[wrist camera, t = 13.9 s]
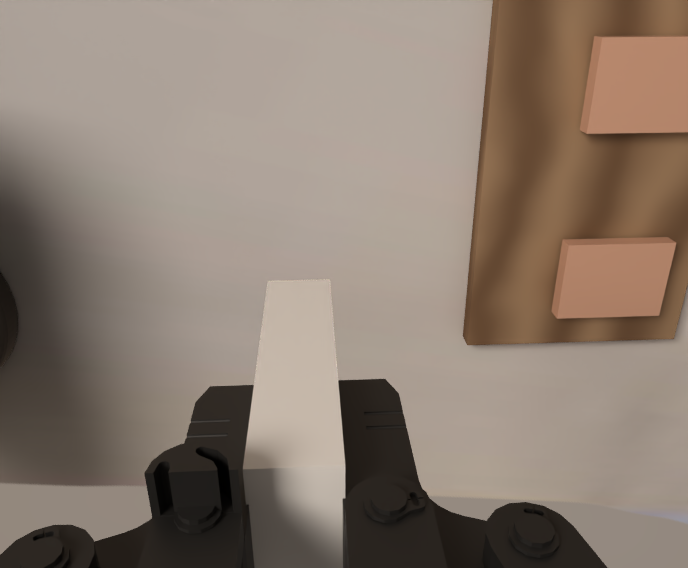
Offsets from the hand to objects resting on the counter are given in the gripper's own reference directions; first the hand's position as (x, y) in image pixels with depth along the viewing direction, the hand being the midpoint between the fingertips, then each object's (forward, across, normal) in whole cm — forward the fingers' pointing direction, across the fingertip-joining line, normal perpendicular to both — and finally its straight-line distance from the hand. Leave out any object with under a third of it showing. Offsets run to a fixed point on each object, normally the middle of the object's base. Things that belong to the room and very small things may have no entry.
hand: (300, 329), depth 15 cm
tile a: (+28, +19, -12) cm, 36 cm away
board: (+30, +21, -5) cm, 37 cm away
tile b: (+28, +19, +2) cm, 34 cm away
